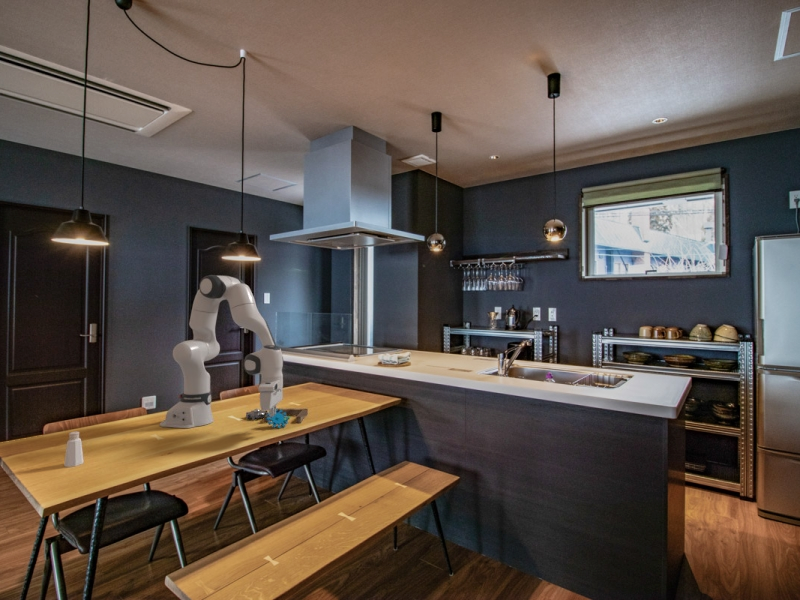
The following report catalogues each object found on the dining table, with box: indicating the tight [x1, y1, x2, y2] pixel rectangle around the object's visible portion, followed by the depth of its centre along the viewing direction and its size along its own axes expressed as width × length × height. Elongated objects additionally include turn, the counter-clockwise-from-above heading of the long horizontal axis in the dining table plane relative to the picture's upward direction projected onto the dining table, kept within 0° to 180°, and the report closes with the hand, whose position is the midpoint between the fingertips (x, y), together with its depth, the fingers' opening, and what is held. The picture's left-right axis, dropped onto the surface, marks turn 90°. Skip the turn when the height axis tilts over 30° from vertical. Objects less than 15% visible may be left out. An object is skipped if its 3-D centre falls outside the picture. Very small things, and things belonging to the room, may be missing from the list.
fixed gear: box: [245, 408, 269, 421], centre depth 206 cm, size 10×10×4 cm
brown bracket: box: [263, 408, 309, 424], centre depth 204 cm, size 17×15×3 cm
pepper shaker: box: [64, 431, 85, 468], centre depth 146 cm, size 5×5×11 cm
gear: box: [266, 408, 291, 430], centre depth 192 cm, size 11×6×10 cm
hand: (272, 415), depth 180 cm, fingers closed
